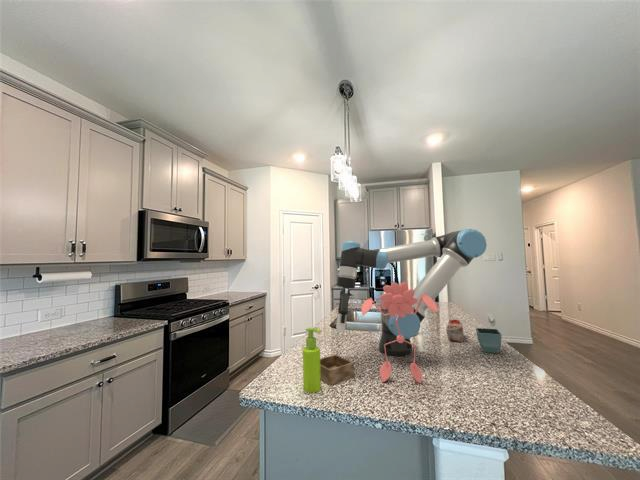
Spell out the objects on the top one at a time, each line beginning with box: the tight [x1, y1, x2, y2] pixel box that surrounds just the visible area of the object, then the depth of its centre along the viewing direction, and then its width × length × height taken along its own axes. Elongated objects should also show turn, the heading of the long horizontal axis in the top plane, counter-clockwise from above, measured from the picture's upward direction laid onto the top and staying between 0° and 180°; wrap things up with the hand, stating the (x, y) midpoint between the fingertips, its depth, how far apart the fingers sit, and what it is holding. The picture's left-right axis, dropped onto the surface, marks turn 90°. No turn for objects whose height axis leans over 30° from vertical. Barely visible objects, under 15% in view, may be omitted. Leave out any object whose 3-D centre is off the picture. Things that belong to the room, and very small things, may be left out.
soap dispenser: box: [302, 327, 323, 394], centre depth 93 cm, size 6×7×20 cm
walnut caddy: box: [320, 354, 355, 386], centre depth 102 cm, size 11×11×5 cm
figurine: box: [360, 281, 439, 398], centre depth 94 cm, size 15×26×35 cm, turn 79°
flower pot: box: [475, 327, 503, 354], centre depth 123 cm, size 9×9×9 cm
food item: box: [446, 318, 465, 343], centre depth 142 cm, size 14×8×10 cm, turn 156°
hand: (340, 330), depth 110 cm, fingers open, 13 cm apart
